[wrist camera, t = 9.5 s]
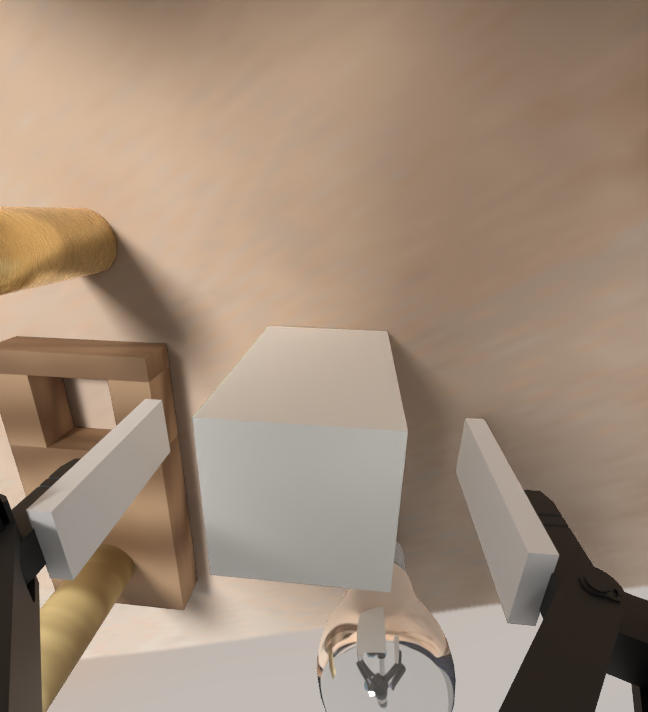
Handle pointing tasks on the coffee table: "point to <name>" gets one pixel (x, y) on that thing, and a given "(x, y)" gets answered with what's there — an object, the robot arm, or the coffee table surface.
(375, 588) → the block
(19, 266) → the pin
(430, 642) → the light bulb
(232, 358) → the coffee table surface
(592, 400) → the coffee table surface
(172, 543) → the board
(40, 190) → the coffee table surface
